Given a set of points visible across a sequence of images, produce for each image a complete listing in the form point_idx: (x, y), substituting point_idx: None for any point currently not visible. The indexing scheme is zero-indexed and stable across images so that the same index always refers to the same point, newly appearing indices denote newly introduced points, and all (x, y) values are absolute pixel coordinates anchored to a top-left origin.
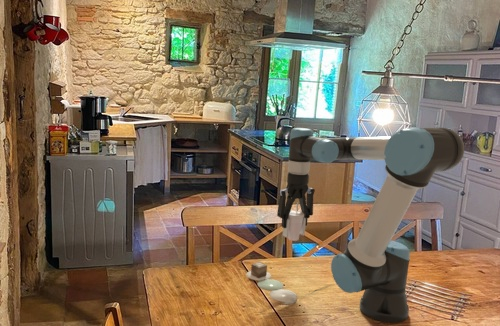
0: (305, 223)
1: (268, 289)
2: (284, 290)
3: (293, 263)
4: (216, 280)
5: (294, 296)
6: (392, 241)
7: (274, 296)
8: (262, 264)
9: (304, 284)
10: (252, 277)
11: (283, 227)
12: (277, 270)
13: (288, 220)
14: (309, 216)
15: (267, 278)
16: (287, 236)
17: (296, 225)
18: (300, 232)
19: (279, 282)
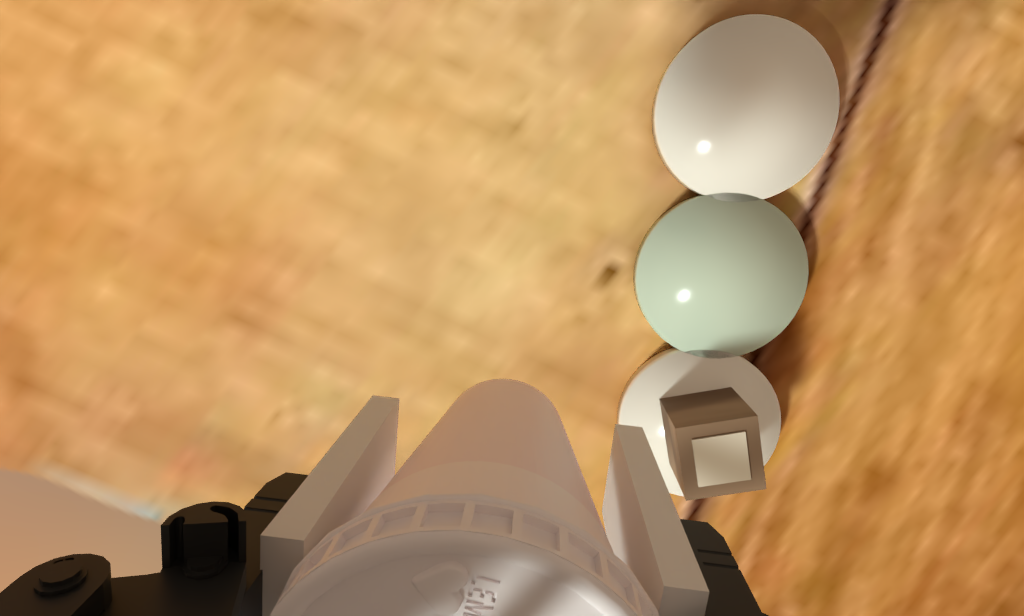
0: (310, 475)
1: (779, 226)
2: (694, 167)
3: None
4: (940, 498)
5: (693, 61)
6: None
7: (811, 123)
8: (700, 450)
9: (484, 219)
10: (758, 413)
11: (713, 534)
12: None
13: (688, 579)
14: (172, 521)
15: (680, 361)
16: (631, 430)
17: (530, 456)
18: (389, 463)
19: (647, 279)
